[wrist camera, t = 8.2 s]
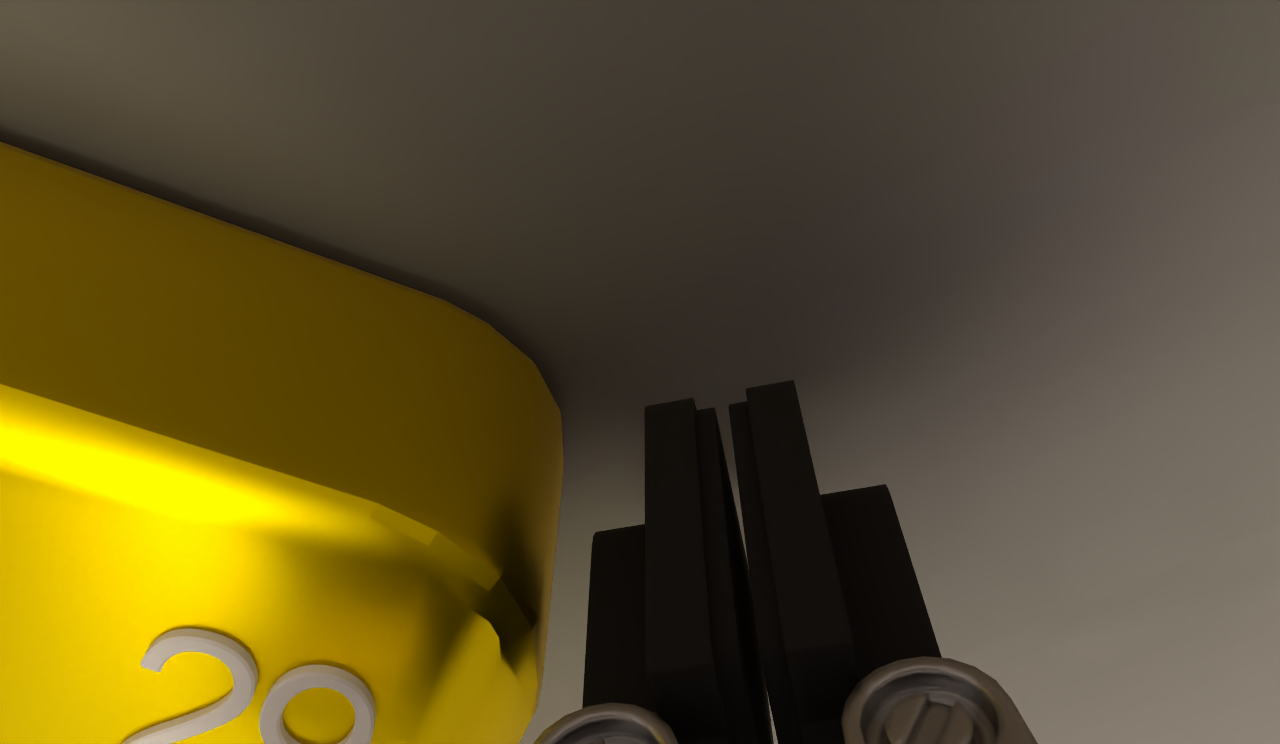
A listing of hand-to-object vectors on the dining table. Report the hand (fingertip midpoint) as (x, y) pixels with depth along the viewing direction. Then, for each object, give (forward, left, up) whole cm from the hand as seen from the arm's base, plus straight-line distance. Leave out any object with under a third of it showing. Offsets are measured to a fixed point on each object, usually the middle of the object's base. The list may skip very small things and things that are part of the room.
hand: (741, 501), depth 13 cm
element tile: (+1, -12, -2) cm, 12 cm away
